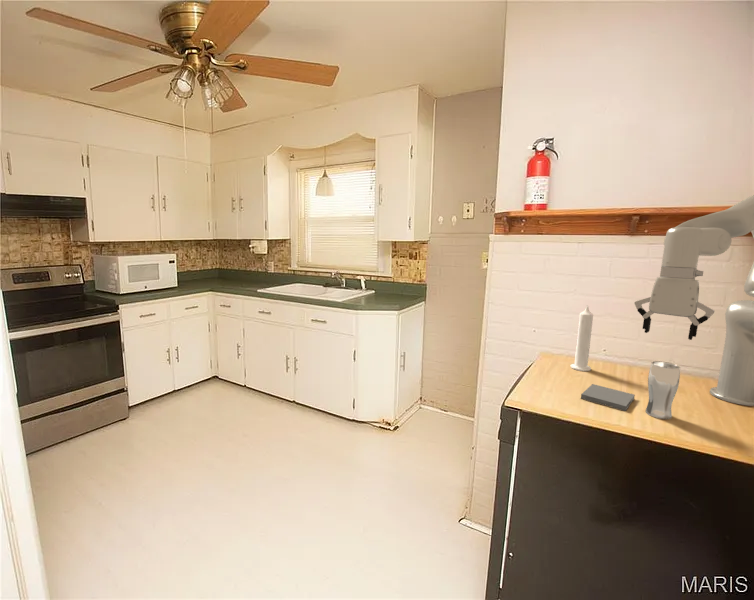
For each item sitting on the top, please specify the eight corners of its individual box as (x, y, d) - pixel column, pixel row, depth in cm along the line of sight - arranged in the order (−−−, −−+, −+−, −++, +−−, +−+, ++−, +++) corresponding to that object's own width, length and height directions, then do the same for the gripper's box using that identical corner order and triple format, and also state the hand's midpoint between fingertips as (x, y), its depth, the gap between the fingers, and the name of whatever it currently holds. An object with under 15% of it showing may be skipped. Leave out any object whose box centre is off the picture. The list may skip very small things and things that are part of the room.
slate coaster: (634, 399, 118) (634, 394, 118) (625, 411, 110) (626, 406, 109) (591, 388, 126) (592, 383, 126) (580, 398, 118) (581, 394, 118)
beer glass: (664, 422, 103) (671, 370, 101) (638, 411, 109) (644, 362, 107) (679, 417, 106) (687, 367, 103) (652, 407, 112) (659, 359, 110)
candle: (593, 372, 142) (601, 307, 138) (573, 370, 143) (580, 306, 139) (587, 366, 149) (594, 304, 145) (568, 364, 150) (574, 303, 146)
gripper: (721, 276, 98) (710, 339, 100) (641, 270, 109) (633, 327, 112) (720, 277, 92) (708, 344, 95) (636, 271, 104) (628, 331, 107)
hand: (667, 335), depth 104 cm, fingers open, 9 cm apart
